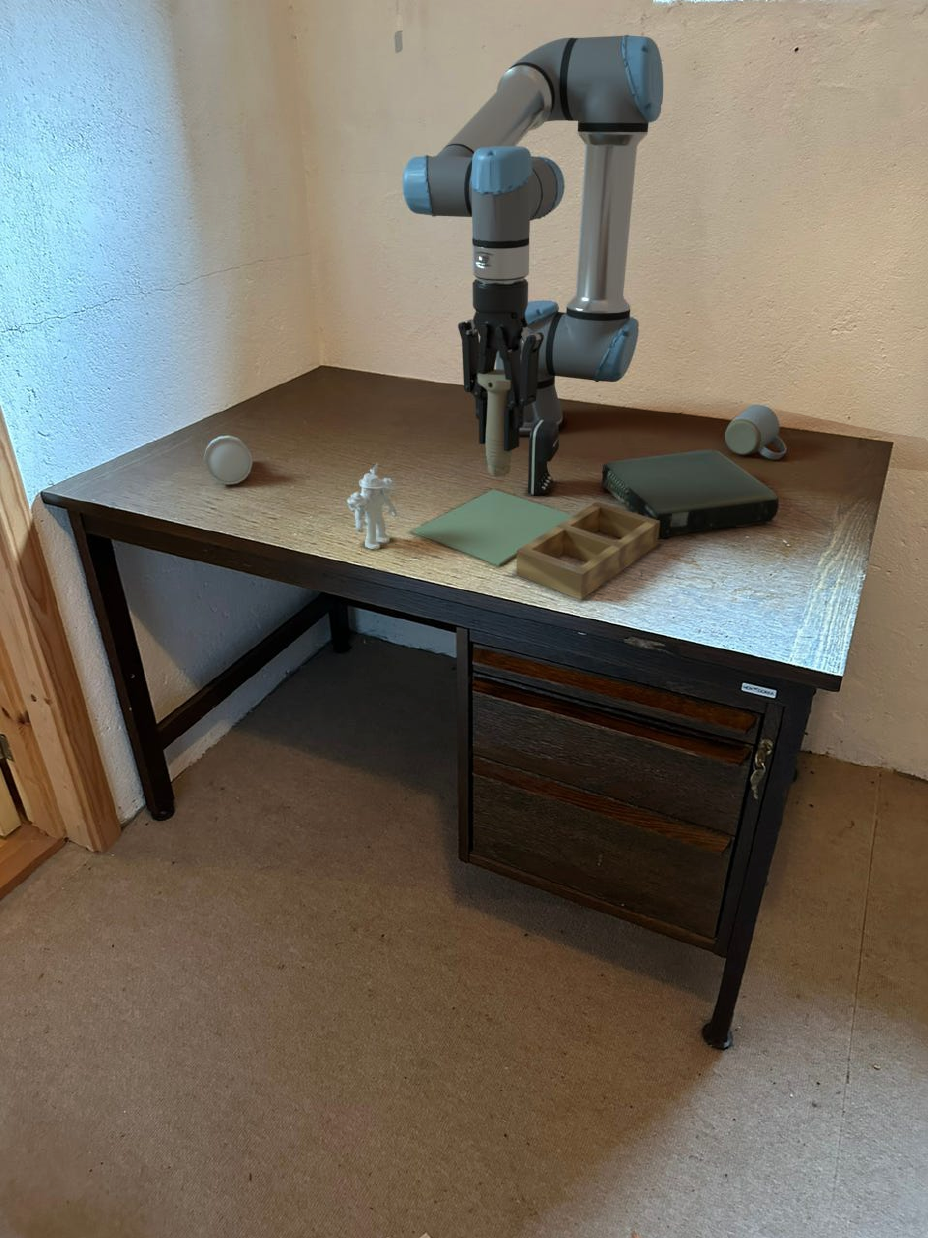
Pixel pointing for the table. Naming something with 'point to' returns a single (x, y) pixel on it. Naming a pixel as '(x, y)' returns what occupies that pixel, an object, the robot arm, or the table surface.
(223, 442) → the spotlight
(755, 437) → the ceramic mug
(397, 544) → the table surface
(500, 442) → the handle
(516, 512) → the mat
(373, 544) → the flower shoulder figurine
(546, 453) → the battery charger
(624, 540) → the rack
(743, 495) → the network switch
